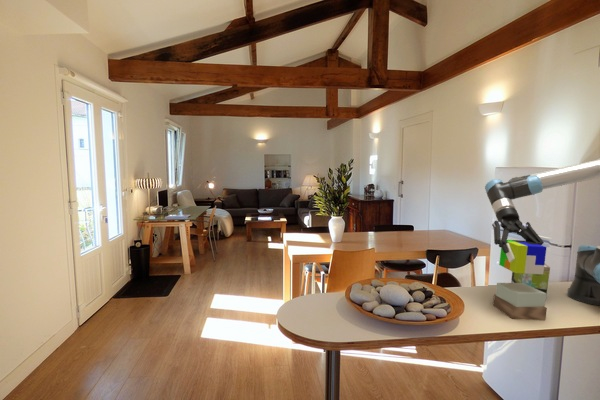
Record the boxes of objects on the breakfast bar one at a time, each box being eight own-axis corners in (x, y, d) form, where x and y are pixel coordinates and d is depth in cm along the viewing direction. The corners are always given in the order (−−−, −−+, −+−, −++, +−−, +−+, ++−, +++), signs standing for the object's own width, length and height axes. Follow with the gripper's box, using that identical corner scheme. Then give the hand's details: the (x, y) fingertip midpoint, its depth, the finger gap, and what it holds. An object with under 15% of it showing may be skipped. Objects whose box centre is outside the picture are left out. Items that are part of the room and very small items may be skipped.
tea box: (546, 301, 141) (551, 266, 139) (519, 297, 144) (522, 263, 142) (535, 289, 155) (538, 258, 153) (509, 286, 158) (513, 255, 157)
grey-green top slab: (521, 295, 134) (523, 282, 133) (544, 306, 123) (546, 293, 122) (495, 295, 133) (496, 282, 132) (516, 306, 122) (517, 293, 121)
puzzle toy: (543, 274, 122) (546, 247, 121) (515, 273, 122) (518, 245, 121) (525, 266, 132) (528, 240, 131) (499, 264, 132) (502, 239, 131)
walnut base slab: (523, 307, 134) (524, 295, 134) (545, 321, 122) (546, 308, 122) (493, 306, 134) (494, 294, 134) (512, 320, 122) (513, 306, 122)
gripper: (528, 219, 141) (551, 267, 127) (473, 216, 140) (491, 264, 126) (538, 207, 135) (564, 257, 121) (481, 205, 135) (501, 254, 121)
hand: (527, 261), depth 124 cm, fingers closed on puzzle toy, 10 cm apart
